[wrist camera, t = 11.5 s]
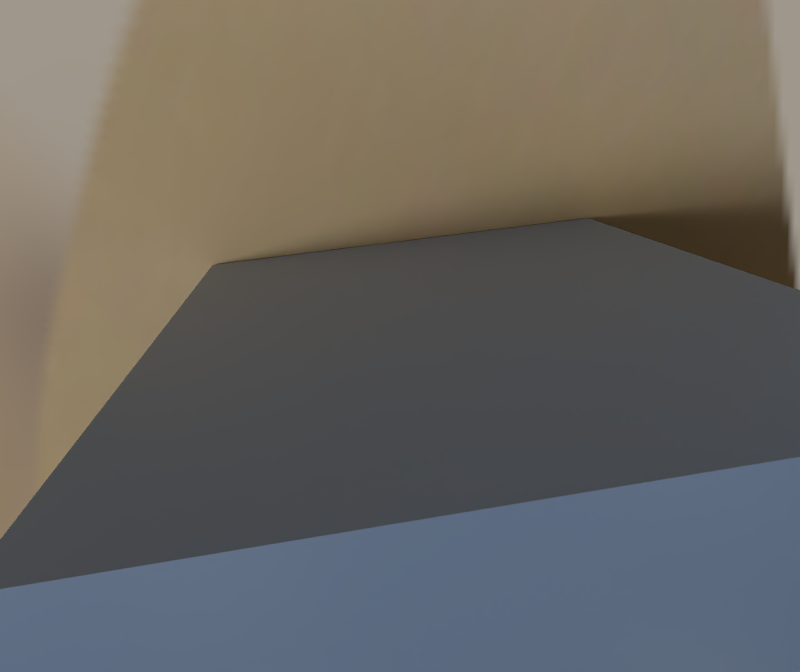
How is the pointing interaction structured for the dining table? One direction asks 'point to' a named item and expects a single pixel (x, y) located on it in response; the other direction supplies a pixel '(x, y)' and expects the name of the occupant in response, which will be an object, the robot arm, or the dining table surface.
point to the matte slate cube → (434, 471)
